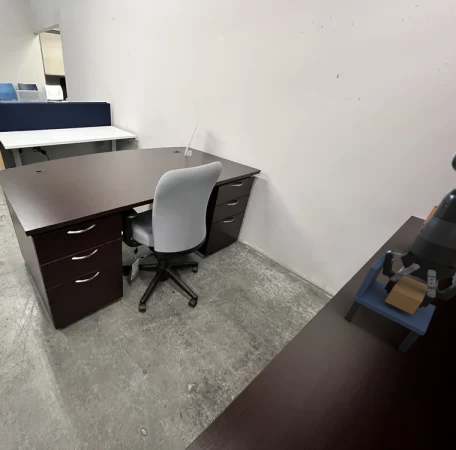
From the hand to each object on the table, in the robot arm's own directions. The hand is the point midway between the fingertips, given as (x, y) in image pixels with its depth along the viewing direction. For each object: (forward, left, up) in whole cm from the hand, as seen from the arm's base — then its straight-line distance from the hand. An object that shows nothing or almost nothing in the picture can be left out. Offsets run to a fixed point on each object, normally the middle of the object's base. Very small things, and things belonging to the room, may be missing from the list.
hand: (403, 298), depth 58 cm
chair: (+1, 0, -10) cm, 10 cm away
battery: (+2, -56, -10) cm, 57 cm away
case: (0, 0, 0) cm, 0 cm away
